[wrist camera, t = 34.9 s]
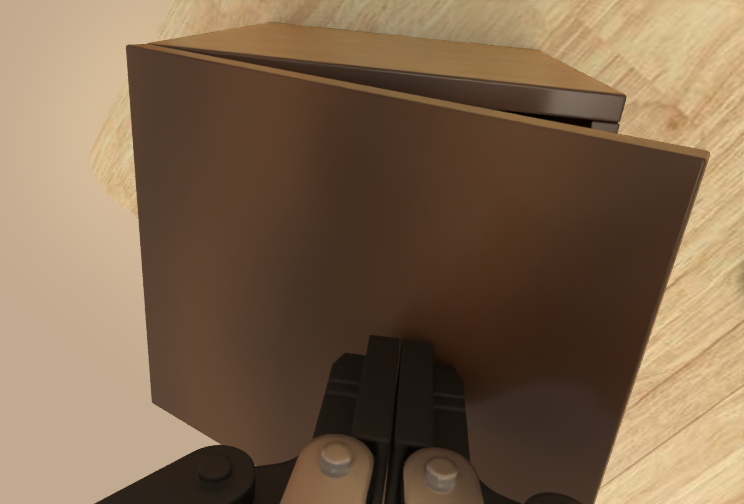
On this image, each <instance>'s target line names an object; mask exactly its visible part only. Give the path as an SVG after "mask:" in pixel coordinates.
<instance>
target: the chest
mask: <svg viewBox="0 0 744 504" xmlns="http://www.w3.org/2000/svg"><path fill="white" fill-rule="evenodd" d="M148 44H150V45H156V46H161V47H166V48H171V49H177V50H182V51H187V52H192V53H197V54H203V55H208V56H213V57H218V58H224V59H229V60H234V61H239V62H245V63H250V64H255V65H260V66H266V67H271V68H276V69H281V70H286V71H292V72H297V73H302V74H307V75H313V76H318V77H323V78H328V79H334V80H339V81H344V82H349V83H355V84H360V85H365V86H370V87H375V88H381V89H386V90H391V91H396V92H402V93H407V94H412V95H417V96H423V97H428V98H433V99H438V100H444V101H449V102H454V103H459V104H464V105H470V106H475V107H480V108H485V109H491V110H496V111H501V112H506V113H512V114H517V115H522V116H527V117H533V118H538V119H543V120H548V121H554V122H559V123H564V124H569V125H574V126H580V127H585V128H590V129H595V130H601V131H606V132H611V133H616V134H617V133H618V129H619V124H618V122H620V120H621V116H622V112H623V108H624V105H625V101H626V95H625V94H623V93H621V92H619V91H617V90H615V89H613V88H611V87H609V86H607V85H605V84H604V83H602V82H600V81H598V80H596V79H594V78H592V77H590V76H588V75H586V74H584V73H582V72H580V71H578V70H576V69H574V68H572V67H570V66H568V65H566V64H564V63H562V62H561V61H559V60H557V59H555V58H553V57H551V56H549V55H547V54H545V53H543V52H541V51H539V50H532V49H522V48H513V47H503V46H494V45H484V44H474V43H465V42H455V41H446V40H436V39H426V38H417V37H407V36H398V35H388V34H379V33H369V32H359V31H350V30H340V29H331V28H321V27H312V26H302V25H292V24H283V23H273V22H269V23H264V24H258V25H252V26H246V27H240V28H234V29H229V30H223V31H217V32H211V33H205V34H199V35H193V36H188V37H182V38H176V39H170V40H164V41H158V42H152V43H148Z"/></svg>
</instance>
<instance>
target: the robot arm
mask: <svg viewBox="0 0 744 504" xmlns="http://www.w3.org/2000/svg"><path fill="white" fill-rule="evenodd" d="M399 343H400V338H394V337H386V336H378V335H369V341H368V346H367V352H366V355H360V354H352V353H344V354H343V355H342V356H340V357H339V358H338V359H337V360H336V361H335V362H334V363H333V364H332V367H331V371H330V375H329V379H328V382H327V386H326V390H325V394H324V397H323V401H322V405H321V408H320V412H319V416H318V420H317V423H316V427H315V431H314V435H313V438H312V440H310V441H309V442H308V443H307V444H305V446H304V447H303V448H302V450H301V452H300V454H299V455H298V456H297V457H295V458H293V459H291V460H288V461H285V462H282V463H277V464H270V465H262V466H255V465H254V462H253V460H252V458H251V457H250V456H249V455H248V454H247V453H246V452H244V451H243V450H241V449H239V448H236V447H233V446H227V445H213V446H208V447H204V448H201V449H198V450H196V451H194V452H192V453H190V454H188V455H186V456H184V457H182V458H181V459H179V460H177V461H175V462H173V463H171V464H169V465H167V466H165V467H163V468H162V469H159V470H158V471H156V472H154V473H152V474H150V475H148V476H146V477H144V478H143V479H140V480H139V481H137V482H135V483H133V484H131V485H129V486H127V487H125V488H124V489H121V490H120V491H118V492H116V493H114V494H112V495H110V496H108V497H107V498H104V499H103V500H101V501H99V502H97V503H95V504H382V501H383V494H384V486H385V479H386V489H385V500H384V504H522V503H519V502H517V501H515V500H512V499H510V498H507V497H505V496H503V495H500V494H498V493H496V492H495V491H493V490H491V489H490V488H489V487H487V486H486V485H485V484H484V483H483V482H482V481H481V480H480V479H479V477H478V474H477V471H476V470H475V468H474V466H473V465H472V464H471V462H470V453H469V441H468V429H467V417H466V406H465V400H464V399H465V394H464V382H463V380H462V379H461V377H460V376H459V374H458V373H457V371H456V370H455V368H454V367H452V366H444V365H437V364H433V342H425V341H418V340H410V339H402V344H401V351H400V359H399V366H398V374H397V365H398V354H399ZM396 376H397V381H396ZM395 387H396V389H395ZM387 464H388V467H387ZM386 472H387V478H386ZM524 504H583V503H581V502H579V501H578V500H576V499H574V498H572V497H569V496H566V495H564V494H559V493H553V492H543V493H538V494H535V495H533V496H531V497H530V498H528V500H527V501H526V502H525V503H524Z"/></svg>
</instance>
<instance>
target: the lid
mask: <svg viewBox="0 0 744 504" xmlns="http://www.w3.org/2000/svg"><path fill="white" fill-rule="evenodd" d="M126 54H127V68H128V81H129V95H130V109H131V122H132V136H133V150H134V164H135V177H136V191H137V205H138V218H139V232H140V246H141V259H142V273H143V287H144V300H145V314H146V327H147V341H148V354H149V369H150V382H151V395H152V403H153V404H155V405H157V406H158V407H160V408H162V409H163V410H165V411H167V412H168V413H170V414H172V415H173V416H175V417H177V418H178V419H180V420H182V421H183V422H185V423H187V424H188V425H190V426H191V427H193V428H195V429H197V430H198V431H200V432H201V433H203V434H205V435H206V436H208V437H210V438H211V439H213V440H215V441H216V442H218V443H220V444H221V445H227V446H233V447H236V448H239V449H241V450H243V451H244V452H246V453H247V454H248V455H249V456H250V457H251V458H252V460H253V462H254V465H256V466H262V465H270V464H277V463H282V462H285V461H288V460H291V459H293V458H295V457H297V456H298V455H299V454H300V452H301V450H302V448H303V447H304V446H305V444H307V443H308V442H309V441H310V440H312V438H313V435H314V431H315V427H316V423H317V420H318V416H319V412H320V408H321V405H322V401H323V397H324V394H325V390H326V386H327V382H328V379H329V375H330V371H331V367H332V364H333V363H334V362H335V361H336V360H337V359H338V358H339V357H340V356H342V355H343V354H344V353H352V354H360V355H366V352H367V346H368V341H369V335H378V336H386V337H394V338H400V343H399V354H398V365H397V374H398V366H399V359H400V351H401V344H402V339H410V340H418V341H425V342H433V364H437V365H444V366H452V367H454V368H455V370H456V371H457V373H458V374H459V376H460V377H461V379H462V380H463V382H464V394H465V399H464V400H465V406H466V417H467V429H468V441H469V453H470V462H471V464H472V465H473V466H474V468H475V470H476V471H477V474H478V477H479V479H480V480H481V481H482V482H483V483H484V484H485V485H486V486H487V487H489V488H490V489H491V490H493V491H495V492H496V493H498V494H500V495H503V496H505V497H507V498H510V499H512V500H515V501H517V502H519V503H522V504H524V503H525V502H526V501H527V500H528V498H530V497H531V496H533V495H535V494H538V493H543V492H553V493H559V494H564V495H566V496H569V497H572V498H574V499H576V500H578V501H579V502H581V503H583V504H595V501H596V498H597V495H598V492H599V489H600V486H601V483H602V480H603V477H604V474H605V471H606V468H607V465H608V462H609V458H610V455H611V452H612V449H613V446H614V443H615V440H616V437H617V434H618V431H619V428H620V425H621V422H622V419H623V416H624V413H625V410H626V407H627V404H628V401H629V398H630V395H631V392H632V389H633V386H634V383H635V380H636V377H637V374H638V371H639V368H640V365H641V362H642V359H643V356H644V353H645V350H646V347H647V344H648V341H649V338H650V335H651V332H652V329H653V326H654V323H655V320H656V317H657V314H658V311H659V308H660V305H661V302H662V299H663V296H664V293H665V289H666V286H667V283H668V280H669V277H670V274H671V271H672V268H673V265H674V262H675V259H676V256H677V253H678V250H679V247H680V244H681V241H682V238H683V235H684V232H685V229H686V226H687V223H688V220H689V217H690V214H691V211H692V208H693V205H694V202H695V199H696V196H697V193H698V190H699V187H700V184H701V181H702V178H703V175H704V172H705V169H706V166H707V163H708V160H709V157H710V152H708V151H705V150H700V149H695V148H690V147H684V146H679V145H674V144H669V143H663V142H658V141H653V140H648V139H643V138H637V137H632V136H627V135H622V134H616V133H611V132H606V131H601V130H595V129H590V128H585V127H580V126H574V125H569V124H564V123H559V122H554V121H548V120H543V119H538V118H533V117H527V116H522V115H517V114H512V113H506V112H501V111H496V110H491V109H485V108H480V107H475V106H470V105H464V104H459V103H454V102H449V101H444V100H438V99H433V98H428V97H423V96H417V95H412V94H407V93H402V92H396V91H391V90H386V89H381V88H375V87H370V86H365V85H360V84H355V83H349V82H344V81H339V80H334V79H328V78H323V77H318V76H313V75H307V74H302V73H297V72H292V71H286V70H281V69H276V68H271V67H266V66H260V65H255V64H250V63H245V62H239V61H234V60H229V59H224V58H218V57H213V56H208V55H203V54H197V53H192V52H187V51H182V50H177V49H171V48H166V47H161V46H156V45H150V44H141V45H139V44H137V45H127V46H126ZM396 381H397V376H396ZM395 389H396V387H395ZM387 467H388V464H387ZM386 478H387V472H386ZM385 489H386V479H385V486H384V494H383V501H382V504H384V500H385Z"/></svg>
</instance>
